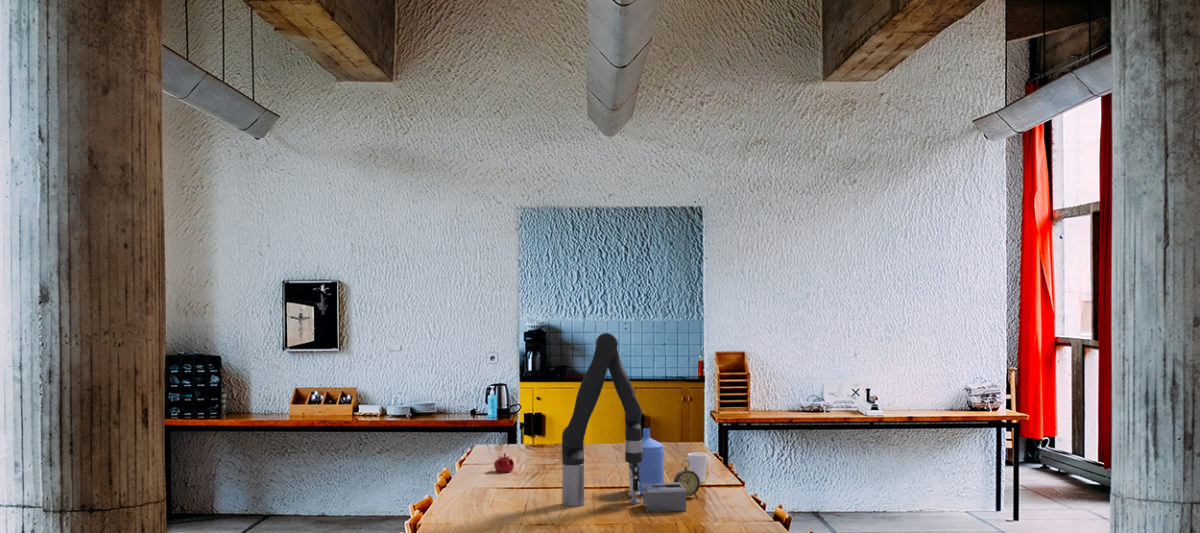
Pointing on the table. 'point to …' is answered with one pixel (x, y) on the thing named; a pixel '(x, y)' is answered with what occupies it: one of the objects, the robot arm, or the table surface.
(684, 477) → the alarm clock
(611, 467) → the table surface
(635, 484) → the robot arm
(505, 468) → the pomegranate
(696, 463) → the foam cup
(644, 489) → the keyhole stand
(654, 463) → the water jug
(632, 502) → the peg
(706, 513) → the table surface
